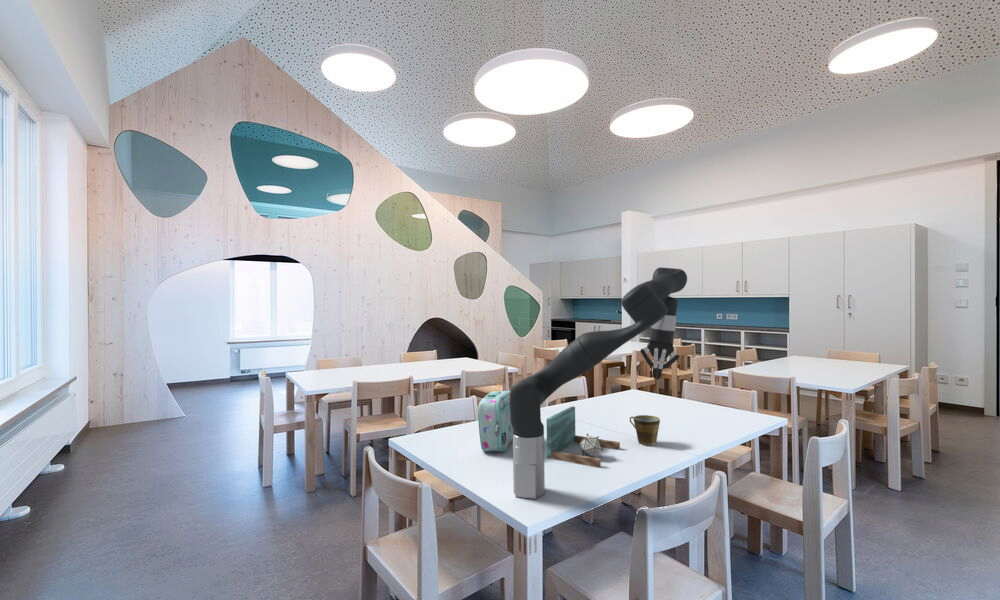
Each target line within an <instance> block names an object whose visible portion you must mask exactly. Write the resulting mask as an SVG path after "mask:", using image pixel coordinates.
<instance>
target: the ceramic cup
mask: <svg viewBox="0 0 1000 600" xmlns="http://www.w3.org/2000/svg"><path fill="white" fill-rule="evenodd" d="M632 419H633V422H632ZM660 421H661V419H660V417H657V416H654V415H650V414H649V415H647V414H644V415H642V414H641V415H635V416H630V417H629V422H630V424H631V425H632V426H633V428H634V429H635V432H636V436H637V442H639V443H638V444H639V445H640V444H642V445H641V446H644V445H645V446H644V447H653V445H654V446H656V445H657V440H658V435H659V434H658V433H659V430H660V429H659V428H660V423H661V422H660Z"/></svg>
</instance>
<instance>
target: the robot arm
mask: <svg viewBox="0 0 1000 600" xmlns="http://www.w3.org/2000/svg"><path fill="white" fill-rule="evenodd" d="M687 283H688V275H687V273H686V272H685V270H683V269H682V268H672V267H657V268H656V269H655V270H654V271H653V274H652V279H650V280H648V281H645V282H642V283H640V284H638V285H636V286H634V287H633V288H631V290H629V291H628V292H627V293H625V295H624V296H623V297H622V299H621V301H620V304H621V306H622V308H623V310H624V311H625V312H626V313H627V315H628V316H629V317H630V318H631V319H632V321H633V322H634V323H633V324H631V325H628V326H626V327H621V328H618V329H613V330H599V331H598V330H597V331H589V332H584V333H582V334H581V335H579V336H578V337H577V338H575V339H574V340H573V341H571V342H570V343H569V344H568V345H567V346H565V347H564V348H563V349H562V350H561V351H560V352H559V353H558V354H556V356H555V357H554V358H553V360H551V361H550V363H548V364H547V365H546V366H545V367H543V368H541V369H540V370H538V371H537V372H535V373H533V374H531V375H530V376H528V377H525V378H523V379H521V380H519V381H518V382H515V384H514V385H513V386H512V387H511V389H510V391H511V392H510V421H511V425H512V428H513V438H512V465H513V467H512V471H513V472H512V474H513V477H512V478H513V479H512V480H513V493H514V494H515V495H514V496H515V497H516V498H523V499H524V498H525V499H533V500H537V499H538V498H540V497H542V496H543V495H545V492H546V490H545V487H546V485H545V484H546V483H545V481H546V479H545V478H546V477H545V425H544V424H543V422H542V417H541V416H542V413H541V405H542V404H544V402H545V401H546V400H548V398H549V397H550V396H551V395H552V394H554V393H555V392H556V391H557V390H558V389H559V388H560V387H562V386H563V385H565V384H567V383H568V382H571V381H572V380H575V379H577V378H578V377H580V376H582V375H584V374H585V373H587V372H588V371H590V370H592V368H594V367H595V366H597V365H598V364H600V363H601V362H602V361H604V359H606V358H607V357H608V356H610V355H611V354H612V353H614V352H615V351H616V350H618V349H619V348H620V347H622V346H623V345H625V344H626V343H628V342H629V341H631V340H633V339H634V338H636V337H637V336H639V335H640V334H642V333H643V332H645V331H646V330H648V329H649V328H650V334H649V341H648V343H647V344H646V347H643V348H641V349H640V351H639V352H640V353H641V355H642V357H643V359H644V360H645V361H646V363H647V365H648V366H650V367H652V373H651V374H652V375H651V376H652V378H653V380H655V381H656V380H657V381H659V379H661V378H662V373H663V370H664V369H668V368H669V367H671V366H672V365H673V364H674V363H675V362H676V361H678V359H680V357H681V356H680V353H677V352H676V351H675V347H674V339H675V334H676V326H677V325H676V324H677V312H678V305H679V303H678V299H677V298H676V297H672V296H670V295H671V294H674V293H679V292H681V291H682V290H683V289H684V288H685V287H686V285H687ZM649 353H650V355H651V357H653V361H652V360H651V358H650V357H649V355H648V354H649ZM669 356H670V357H671V358H670V359H669V360H668V361H667V362H665V360H666V359H667V358H668V357H669ZM658 359H659V361H658ZM664 362H665V363H664Z"/></svg>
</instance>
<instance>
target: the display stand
mask: <svg viewBox="0 0 1000 600" xmlns="http://www.w3.org/2000/svg"><path fill="white" fill-rule="evenodd" d="M585 437H586V436H582V435H576V406H570V407H568V408H565V409H564V410H561V411H560V412H558V413H556V414H553V415H552V416H550V417H547V418H546V458H547V459H550V460H551V459H552V460H557V461H562V462H569V463H573V464H578V465H584V466H588V465H589V467H595V468H601V466H602V465H601V464H602V463H601V462H602V461H601V459H602V458H598V457H594V458H593V457H589V456H586V455H584V456H582V455H583V454H582V455H581V454H577V453H570V452H564V450H566V449H567V448H569V447H570V446H572V445H573V444H574V443H575V444H578V443H577V442H579V443H580V442H581V441H582V440H583V439H584V438H585ZM598 440H599V443H600V446H601V448H605V449H611V448H612V449H613V450H617V449H619V450H620V448H621V447H620V446H621V443H620V441H615V440H609V439H602V438H598ZM565 448H566V449H565ZM562 450H563V451H562Z"/></svg>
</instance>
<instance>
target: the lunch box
mask: <svg viewBox="0 0 1000 600" xmlns="http://www.w3.org/2000/svg"><path fill="white" fill-rule="evenodd" d="M510 392H511V389H510V390H502V391H501V390H500V391H499V390H497V391H493V390H492V391H491V392H489V393H488V394H486V395H485V396H484V397H483V398H482V399H481V400H480V401H479V403H478V408H477V412H478V413H477V414H478V415H477V419H478V431H479V432H478V433H479V441H480V442H479V443H480V449H481V450H482V452H501V453H503V452H505V451H506V450H507V449H508V447H509V446H510V444H511V443H512V441H513V428H512V425H511V421H510Z"/></svg>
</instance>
